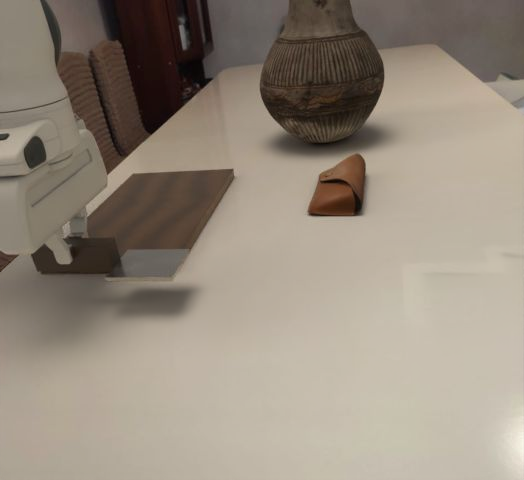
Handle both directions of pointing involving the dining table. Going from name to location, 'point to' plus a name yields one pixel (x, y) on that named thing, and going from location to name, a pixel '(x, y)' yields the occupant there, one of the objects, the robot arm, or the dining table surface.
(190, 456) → the dining table surface
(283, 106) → the vase
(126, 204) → the board
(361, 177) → the sunglasses case
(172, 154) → the dining table surface
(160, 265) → the spatula
